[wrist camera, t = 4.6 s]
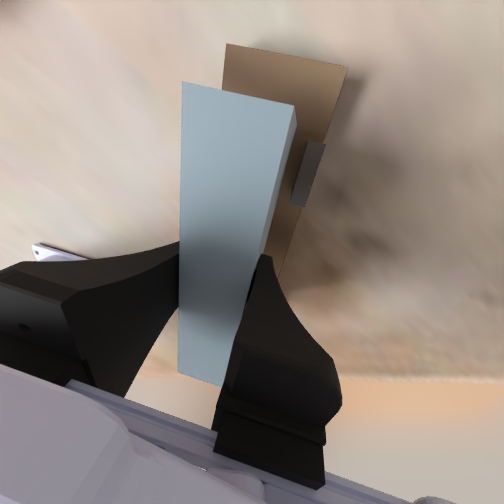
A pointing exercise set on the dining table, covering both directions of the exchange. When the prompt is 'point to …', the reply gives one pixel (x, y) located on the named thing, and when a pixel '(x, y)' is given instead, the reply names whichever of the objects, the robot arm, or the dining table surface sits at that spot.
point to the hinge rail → (307, 116)
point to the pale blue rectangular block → (224, 215)
